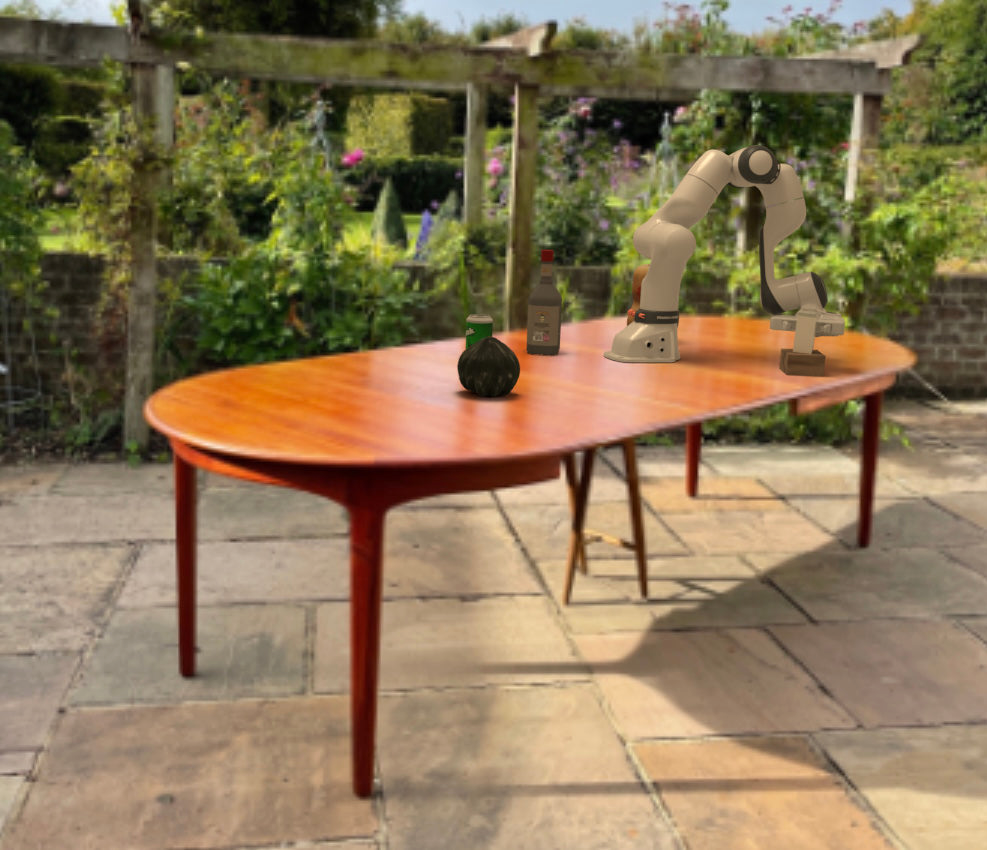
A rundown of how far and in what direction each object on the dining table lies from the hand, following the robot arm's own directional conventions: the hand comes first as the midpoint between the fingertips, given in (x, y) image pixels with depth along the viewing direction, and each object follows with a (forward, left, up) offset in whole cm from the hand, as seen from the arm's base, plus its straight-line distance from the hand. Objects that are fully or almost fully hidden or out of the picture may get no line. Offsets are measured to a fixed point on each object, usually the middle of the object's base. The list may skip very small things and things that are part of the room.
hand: (805, 328), depth 300 cm
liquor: (-58, +45, -13) cm, 75 cm away
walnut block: (+1, +1, -13) cm, 13 cm away
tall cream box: (+1, +1, -7) cm, 7 cm away
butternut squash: (-16, +57, -13) cm, 61 cm away
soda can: (-80, +41, -13) cm, 91 cm away
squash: (-96, -7, -13) cm, 97 cm away
